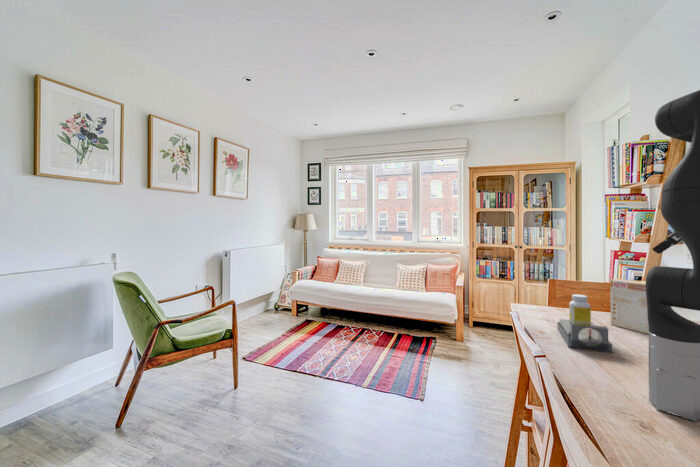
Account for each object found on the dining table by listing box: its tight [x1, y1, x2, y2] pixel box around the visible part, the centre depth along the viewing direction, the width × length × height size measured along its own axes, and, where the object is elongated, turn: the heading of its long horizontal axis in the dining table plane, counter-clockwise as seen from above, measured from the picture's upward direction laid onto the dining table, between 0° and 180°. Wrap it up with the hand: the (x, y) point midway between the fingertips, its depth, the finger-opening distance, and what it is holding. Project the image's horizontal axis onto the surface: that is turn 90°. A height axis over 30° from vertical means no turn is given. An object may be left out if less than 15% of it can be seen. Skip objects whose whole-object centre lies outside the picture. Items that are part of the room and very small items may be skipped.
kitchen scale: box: [556, 321, 613, 354], centre depth 110 cm, size 21×12×8 cm, turn 154°
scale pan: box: [558, 318, 596, 336], centre depth 112 cm, size 16×11×1 cm, turn 154°
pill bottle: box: [568, 293, 592, 325], centre depth 114 cm, size 6×6×12 cm
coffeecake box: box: [609, 277, 649, 335], centre depth 120 cm, size 15×7×20 cm, turn 22°
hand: (656, 250), depth 94 cm, fingers open, 8 cm apart
